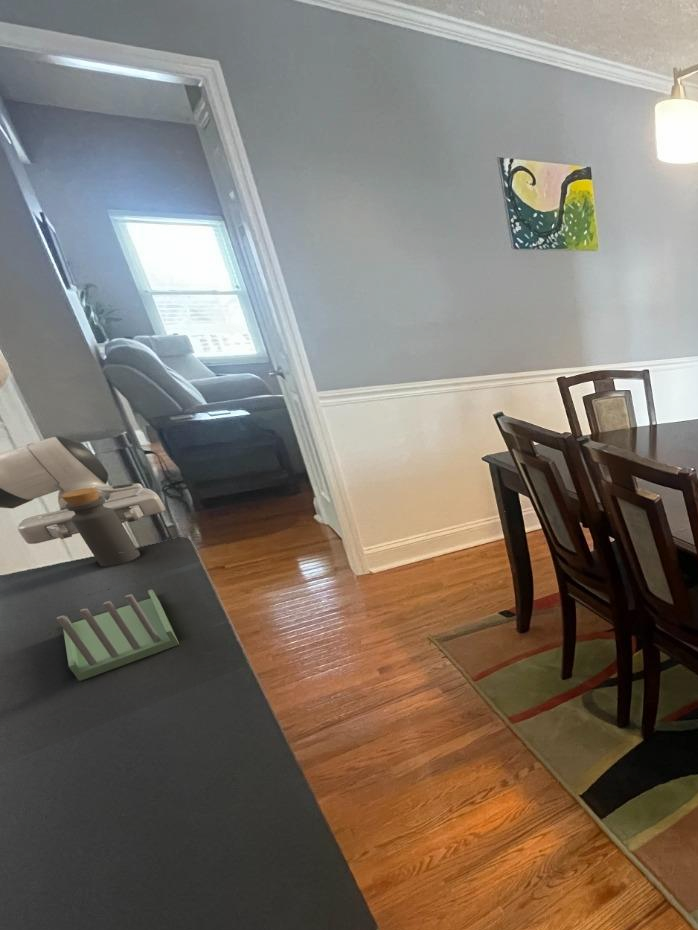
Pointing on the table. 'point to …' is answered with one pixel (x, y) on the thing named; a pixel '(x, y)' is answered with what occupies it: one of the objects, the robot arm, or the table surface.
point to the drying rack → (116, 636)
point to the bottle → (100, 527)
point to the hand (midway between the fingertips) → (98, 525)
